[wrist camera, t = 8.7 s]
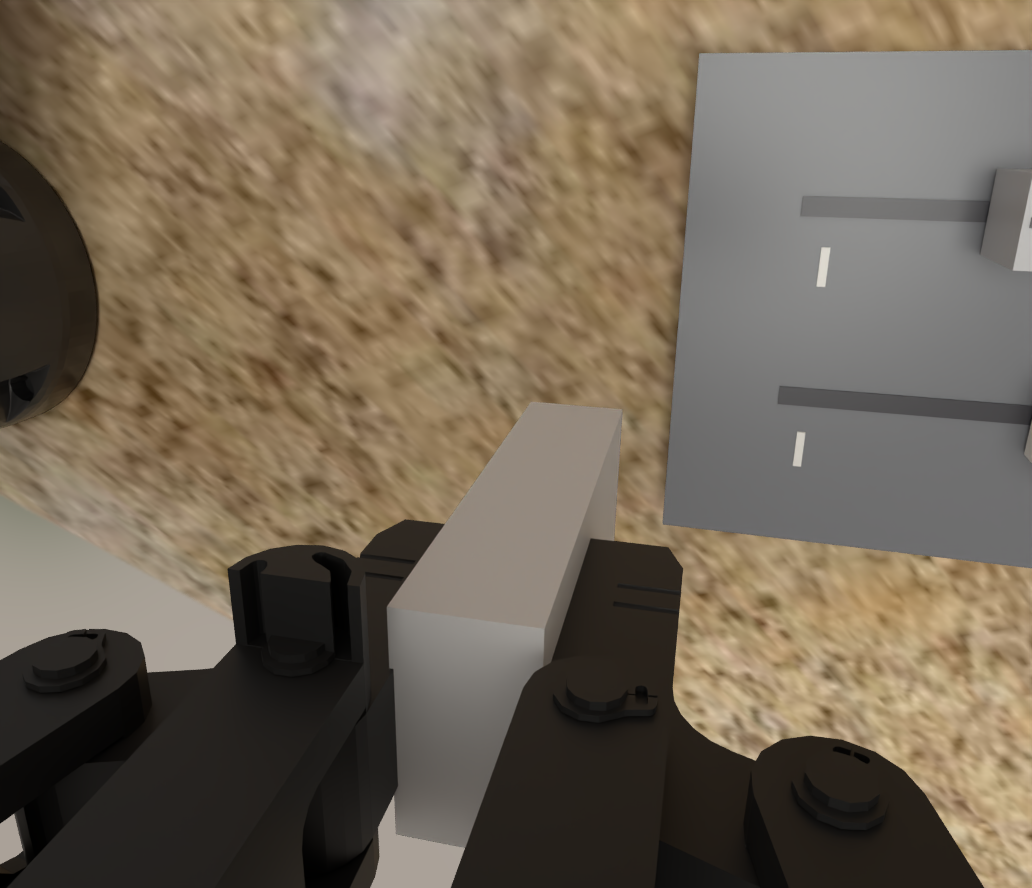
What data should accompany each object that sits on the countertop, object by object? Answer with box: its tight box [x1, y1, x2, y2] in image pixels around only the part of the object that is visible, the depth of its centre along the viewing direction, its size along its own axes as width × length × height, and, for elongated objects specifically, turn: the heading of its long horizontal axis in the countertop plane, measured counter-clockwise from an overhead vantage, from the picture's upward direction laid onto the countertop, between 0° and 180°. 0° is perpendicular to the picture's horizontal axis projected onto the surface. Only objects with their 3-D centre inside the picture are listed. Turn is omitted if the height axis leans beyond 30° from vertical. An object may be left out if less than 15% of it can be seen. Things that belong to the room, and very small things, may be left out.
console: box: [663, 50, 1032, 568], centre depth 30 cm, size 22×18×5 cm
